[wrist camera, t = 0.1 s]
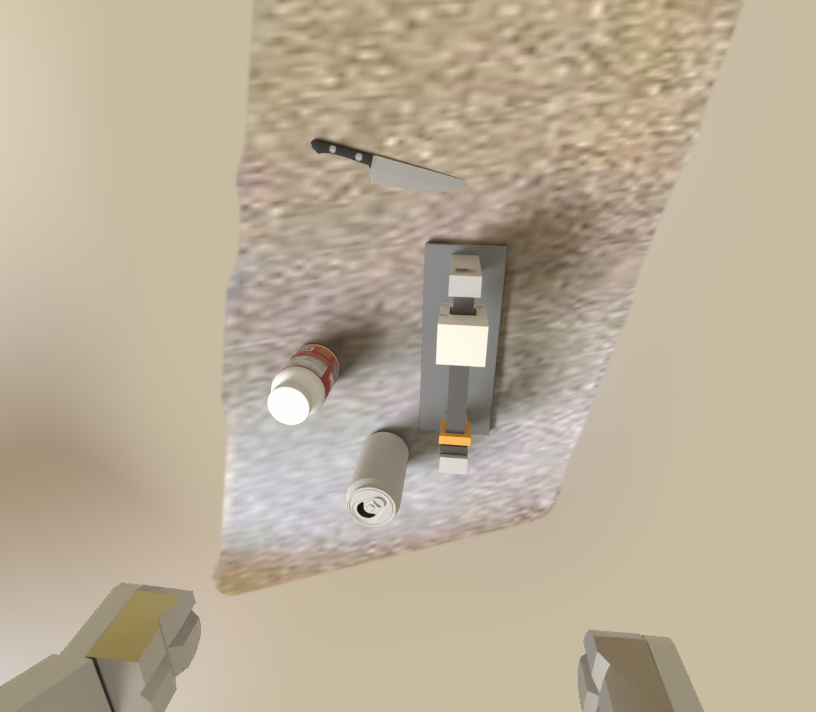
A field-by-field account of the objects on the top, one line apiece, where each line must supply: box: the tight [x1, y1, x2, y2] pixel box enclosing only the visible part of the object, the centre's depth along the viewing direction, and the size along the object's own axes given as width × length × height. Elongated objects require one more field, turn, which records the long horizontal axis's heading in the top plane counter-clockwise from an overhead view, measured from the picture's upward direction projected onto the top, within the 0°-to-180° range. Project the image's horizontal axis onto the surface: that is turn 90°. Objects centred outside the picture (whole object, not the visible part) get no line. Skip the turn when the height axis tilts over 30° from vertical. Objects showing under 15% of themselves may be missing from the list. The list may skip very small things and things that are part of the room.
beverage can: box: [346, 432, 409, 527], centre depth 60 cm, size 6×6×12 cm
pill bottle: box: [268, 344, 339, 425], centre depth 56 cm, size 6×6×11 cm
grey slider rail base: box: [419, 243, 507, 474], centre depth 53 cm, size 24×9×11 cm, turn 179°
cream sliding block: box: [436, 303, 489, 367], centre depth 47 cm, size 4×5×7 cm
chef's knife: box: [311, 140, 468, 192], centre depth 51 cm, size 19×1×3 cm
